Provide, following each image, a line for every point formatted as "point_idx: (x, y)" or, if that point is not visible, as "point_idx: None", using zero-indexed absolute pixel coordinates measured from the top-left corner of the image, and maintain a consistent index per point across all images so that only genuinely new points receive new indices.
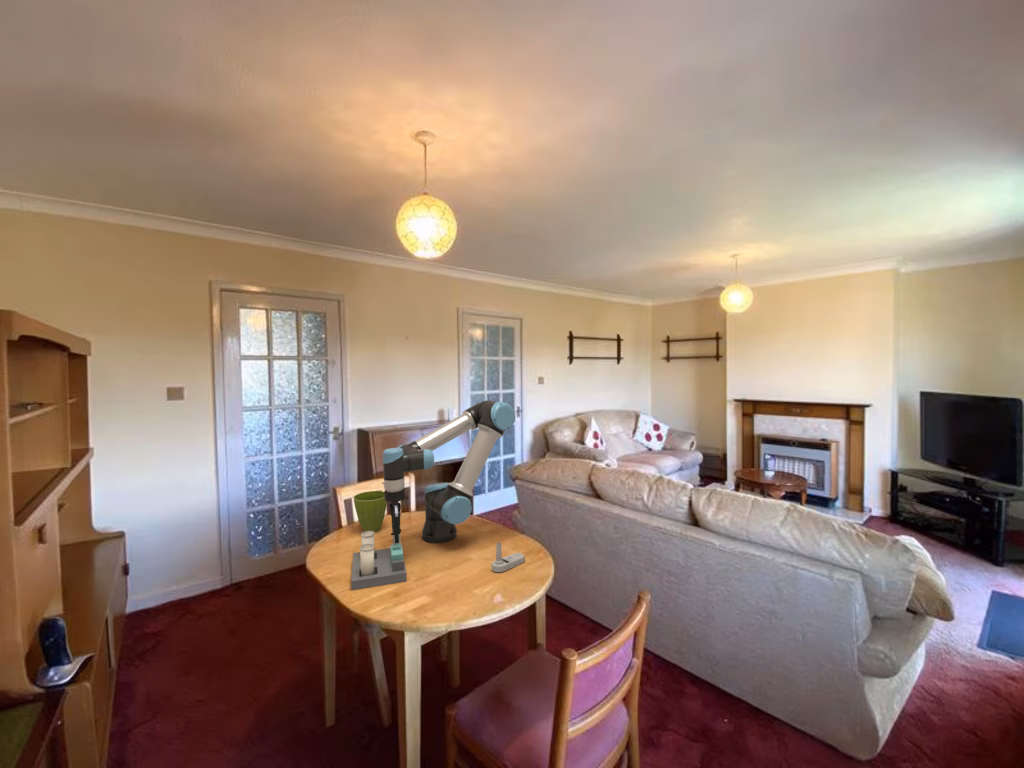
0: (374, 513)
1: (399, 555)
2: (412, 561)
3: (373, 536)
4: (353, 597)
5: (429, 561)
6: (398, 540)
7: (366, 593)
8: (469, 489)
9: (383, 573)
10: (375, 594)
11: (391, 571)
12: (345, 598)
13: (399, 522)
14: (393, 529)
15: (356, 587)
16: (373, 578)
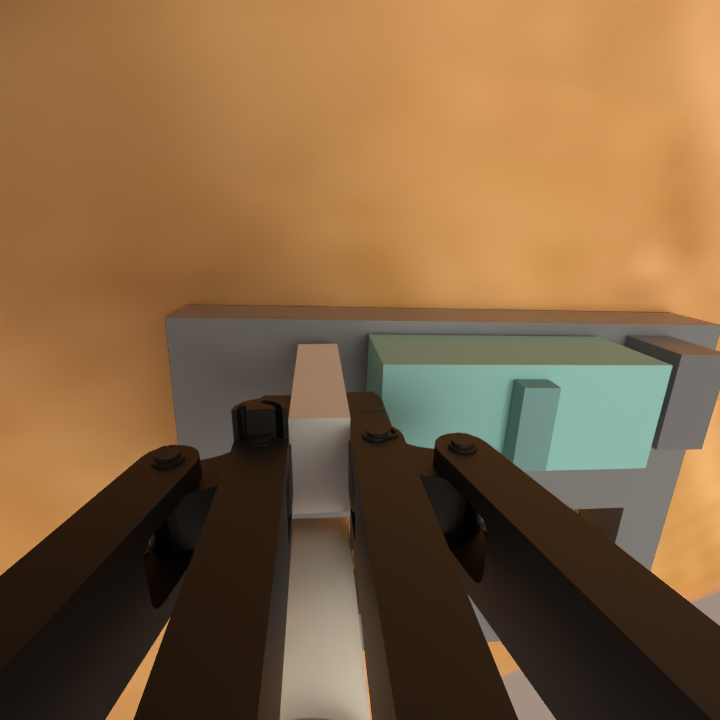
0: None
1: (656, 398)
2: (375, 233)
3: (334, 709)
4: (674, 575)
5: (435, 82)
6: (383, 409)
7: (672, 524)
8: None
9: (637, 474)
10: (710, 484)
11: None
12: None
13: (707, 632)
14: (479, 587)
15: None
16: (661, 526)
